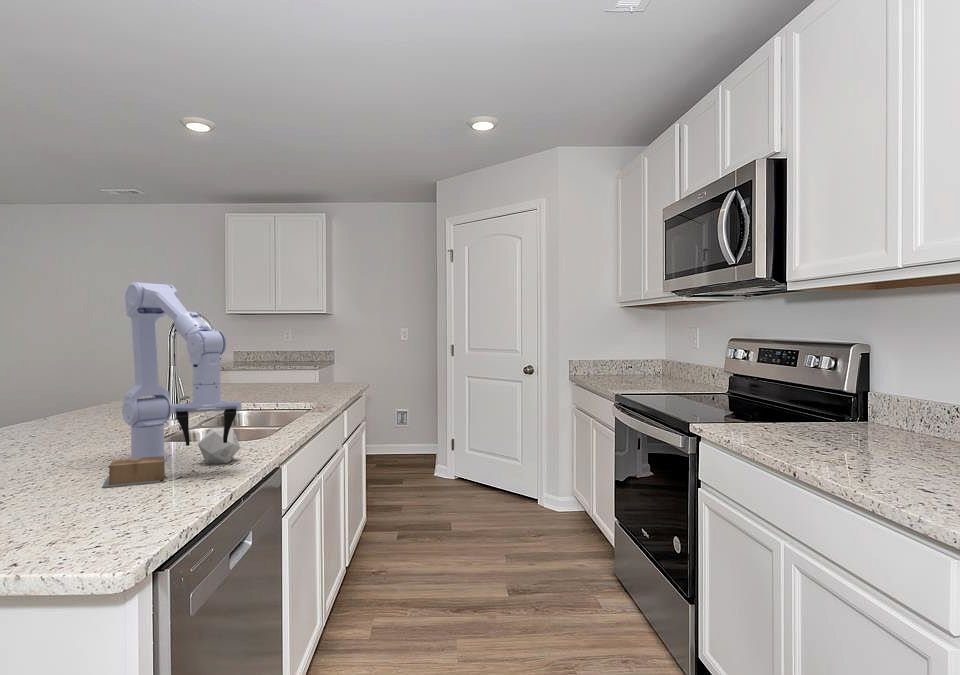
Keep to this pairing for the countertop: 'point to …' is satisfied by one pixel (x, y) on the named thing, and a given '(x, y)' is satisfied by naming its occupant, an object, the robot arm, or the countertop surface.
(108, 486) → the mat
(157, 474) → the walnut block
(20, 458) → the countertop surface
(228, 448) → the die
